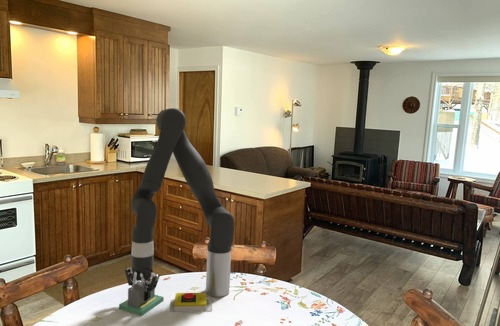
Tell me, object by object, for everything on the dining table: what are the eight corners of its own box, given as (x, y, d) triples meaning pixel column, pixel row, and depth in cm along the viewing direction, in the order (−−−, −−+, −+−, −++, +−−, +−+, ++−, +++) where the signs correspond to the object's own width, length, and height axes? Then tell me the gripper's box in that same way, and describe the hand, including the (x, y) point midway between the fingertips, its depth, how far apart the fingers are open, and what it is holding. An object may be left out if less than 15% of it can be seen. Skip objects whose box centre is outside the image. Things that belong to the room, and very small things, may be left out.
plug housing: (145, 293, 139) (146, 278, 138) (154, 296, 137) (154, 280, 137) (127, 305, 130) (128, 288, 129) (137, 308, 129) (137, 291, 128)
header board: (141, 294, 141) (141, 282, 141) (163, 300, 138) (163, 287, 137) (119, 308, 130) (119, 295, 130) (142, 315, 127) (142, 301, 126)
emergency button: (171, 289, 139) (212, 289, 140) (171, 300, 139) (211, 300, 141) (169, 301, 129) (212, 301, 131) (169, 313, 130) (212, 313, 132)
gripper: (165, 253, 132) (164, 299, 134) (133, 245, 138) (132, 290, 140) (152, 260, 126) (151, 308, 128) (119, 252, 131) (118, 298, 133)
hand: (141, 298), depth 134 cm, fingers closed on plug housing, 4 cm apart
